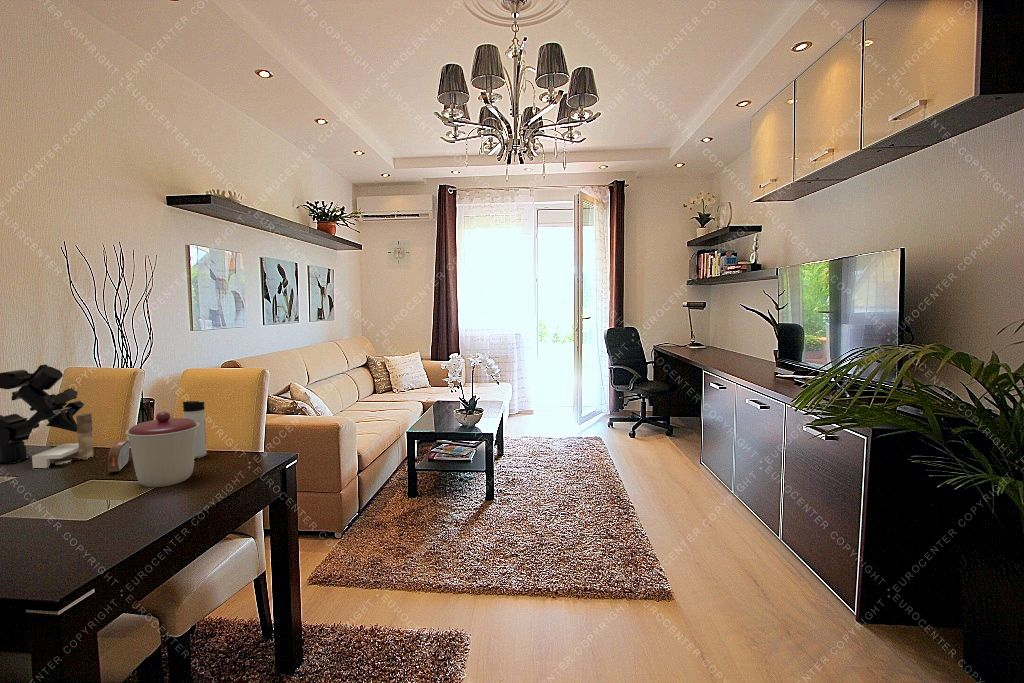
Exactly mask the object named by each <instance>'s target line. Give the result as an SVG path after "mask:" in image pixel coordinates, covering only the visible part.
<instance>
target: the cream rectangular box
mask: <svg viewBox="0 0 1024 683" xmlns="http://www.w3.org/2000/svg"><path fill="white" fill-rule="evenodd" d="M72 454H79V443H78V442H74V443H73V442H72V443H71V442H70V443H62V444H59V445H57V446H55V447H51V448H49V449H47V450H44V451H41V452H39V453H38V452H37V453H35V454H33V455H31V459H32V460H31V462H32V469H33V468H47V467H49V466H50V462H49V459H60V458H63V457H65V456H68V455H72ZM50 467H51V466H50Z"/></svg>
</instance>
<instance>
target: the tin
mask: <svg viewBox="0 0 1024 683" xmlns="http://www.w3.org/2000/svg"><path fill="white" fill-rule="evenodd" d="M130 452H131V447H130V442H129V439H127V440H126V439H125V440H121V439H118V440H117V441H116V442H115V443H113V445H112V446H111V447H110V449H109V453H108V456H107V457H108V459H107V470H108V472H109V473H115V472H118V471H119V472H121V471H122V470H123V469H124V468H125V467H126V466H127V465H128V463H129V461H130V456H131V454H130ZM126 464H127V465H126ZM125 465H126V466H125ZM124 466H125V467H124ZM123 467H124V468H123ZM122 468H123V469H122ZM121 469H122V470H121Z"/></svg>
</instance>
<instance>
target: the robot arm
mask: <svg viewBox="0 0 1024 683" xmlns="http://www.w3.org/2000/svg"><path fill="white" fill-rule="evenodd" d="M63 376H64V375H63V373H62V371H61V370H60V369H58V368H55V367H52V366H49V365H48V364H40V365H39V366H37V368H36V370H35V371H33V373H31V372H28V370H26V369H18V370H17V369H15V370H11V371H3V372H0V389H2V390H13V389H18V390H16V391H12V392H11V394H12V395H11V401H17V400H20V399H21V400H22V401H23V402H24V403H26V404H27V405H28V406H30V407H29V411H31V412H34V411H35V413H34V414H33V415H31V417H30V418H29V419H28V417H23V416H21V415H19V414H17V413H13V414H8V415H1V414H0V463H8V464H15V463H14V462H16V463H18V462H17V461H19V460H22V459H24V458H26V457H27V446H26V445H25V441H27V440H28V441H29V439H30V437H31V436H30V435H31V433H32V432H33V430H34V429H37V428H39V427H40V423H41V422H42V421H43V422H44V421H47V422H48V423H47V424H46V427H53V428H57V429H60V430H61V429H62V430H66V431H69V432H74V433H77V421H75V419H74V416H75V415H76V414H78V412H79V411H80V410H81V409H82V408H83V407H85V403H83V402H82V401H81V400H76V401H72V400H75V399H77V398H78V391H77V390H76V389H74V388H72V387H70V388H67V389H64V390H63V391H62V392H59V393H57V394H54V393H52V394H49V393H48V392H46V391H47V390H48V391H49V390H50V389H51V388H53V387H54V385H56V384H57V383H58V382H59V381H60V380H61V379H62V378H63ZM45 390H46V391H45ZM70 401H72V402H70ZM67 402H68V403H67ZM24 460H25V459H24ZM22 461H23V460H22ZM19 462H20V461H19Z"/></svg>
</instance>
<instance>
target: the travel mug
mask: <svg viewBox="0 0 1024 683" xmlns="http://www.w3.org/2000/svg"><path fill="white" fill-rule="evenodd" d="M182 407H183V411H182V412H183V415H182V416H183V417H182V418H186V419H191V420H194V421H195V422H198V423H199V424H200V425H199V427H198V428H197V436H196V448H195V458H200V457H204V456H206V455H208V453H207V435H206V434H207V433H206V432H207V430H206V409H205V401H199V400H190V401H189V400H188V401H182ZM206 457H207V456H206ZM204 458H205V457H204Z"/></svg>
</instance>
